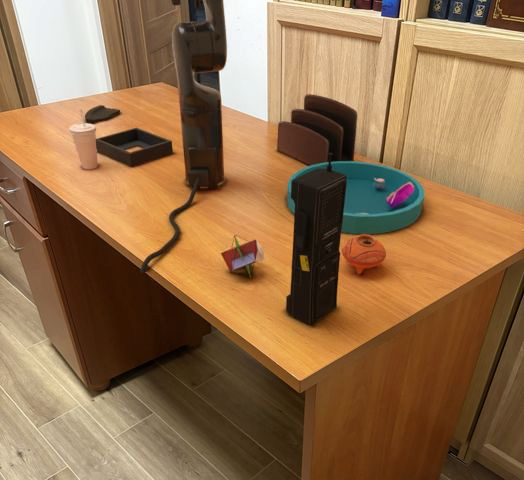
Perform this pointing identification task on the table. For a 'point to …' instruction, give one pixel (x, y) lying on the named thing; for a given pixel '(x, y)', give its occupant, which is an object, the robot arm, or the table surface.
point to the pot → (363, 252)
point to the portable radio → (316, 243)
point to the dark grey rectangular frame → (131, 138)
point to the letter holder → (319, 131)
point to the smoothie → (85, 142)
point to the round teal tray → (373, 197)
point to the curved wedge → (100, 114)
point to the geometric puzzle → (243, 255)
